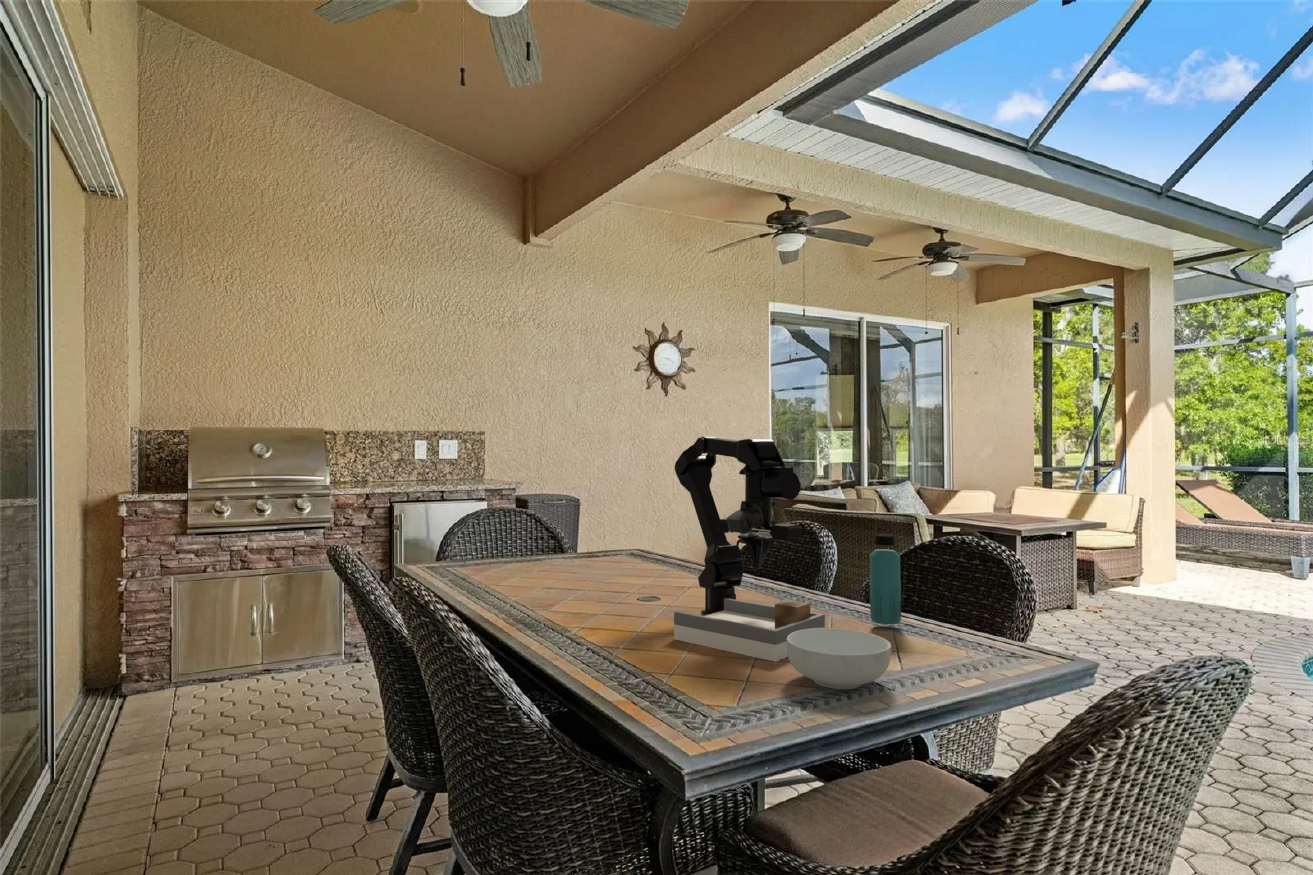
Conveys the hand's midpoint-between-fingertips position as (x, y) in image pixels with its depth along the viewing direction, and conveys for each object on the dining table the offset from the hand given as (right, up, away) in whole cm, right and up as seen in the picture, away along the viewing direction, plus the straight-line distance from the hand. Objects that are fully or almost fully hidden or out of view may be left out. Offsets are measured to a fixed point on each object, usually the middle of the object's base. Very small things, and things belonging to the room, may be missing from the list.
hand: (757, 568), depth 166 cm
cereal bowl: (+8, -12, -39) cm, 42 cm away
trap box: (-3, -12, -13) cm, 18 cm away
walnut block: (+5, -9, -16) cm, 19 cm away
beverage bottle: (+27, -13, -3) cm, 30 cm away
